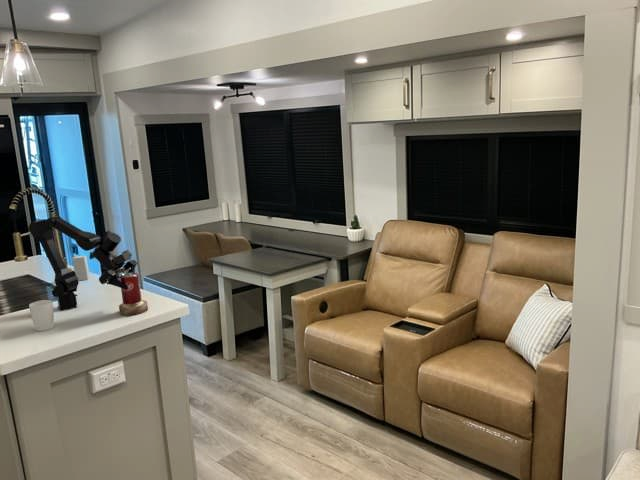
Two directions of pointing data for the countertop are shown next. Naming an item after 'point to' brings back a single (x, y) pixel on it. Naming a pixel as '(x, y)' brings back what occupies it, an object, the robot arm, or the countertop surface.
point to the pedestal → (133, 308)
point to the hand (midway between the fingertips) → (133, 286)
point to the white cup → (42, 315)
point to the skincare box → (81, 267)
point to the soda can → (131, 289)
